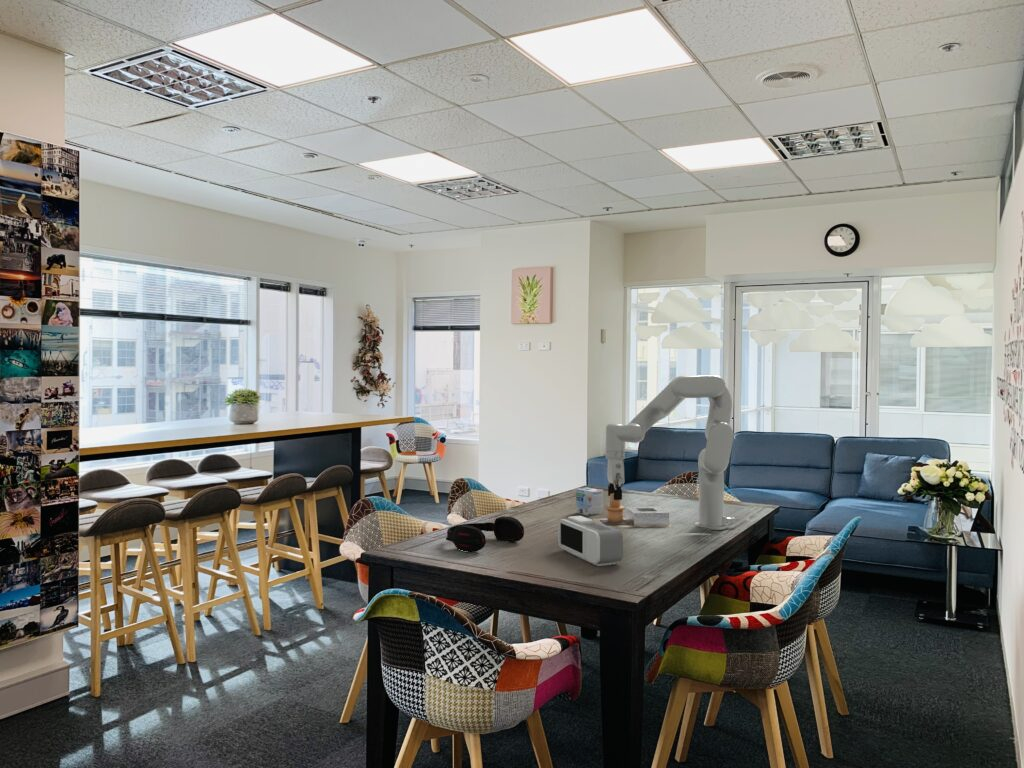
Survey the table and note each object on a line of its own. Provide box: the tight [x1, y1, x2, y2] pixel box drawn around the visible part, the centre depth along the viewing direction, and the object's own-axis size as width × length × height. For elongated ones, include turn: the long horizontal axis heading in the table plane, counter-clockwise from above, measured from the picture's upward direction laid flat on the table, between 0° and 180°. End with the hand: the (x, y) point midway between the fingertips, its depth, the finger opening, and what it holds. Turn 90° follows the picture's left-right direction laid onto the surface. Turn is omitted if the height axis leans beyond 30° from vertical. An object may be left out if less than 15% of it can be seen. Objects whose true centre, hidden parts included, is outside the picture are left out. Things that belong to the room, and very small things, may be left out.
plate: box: [592, 506, 674, 529], centre depth 310 cm, size 28×18×6 cm, turn 96°
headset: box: [445, 515, 525, 553], centre depth 272 cm, size 28×26×9 cm
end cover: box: [605, 494, 626, 523], centre depth 309 cm, size 8×8×11 cm
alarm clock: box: [557, 515, 624, 567], centre depth 255 cm, size 27×9×12 cm, turn 23°
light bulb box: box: [575, 486, 604, 517], centre depth 333 cm, size 11×7×11 cm, turn 37°
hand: (614, 497), depth 309 cm, fingers open, 9 cm apart
